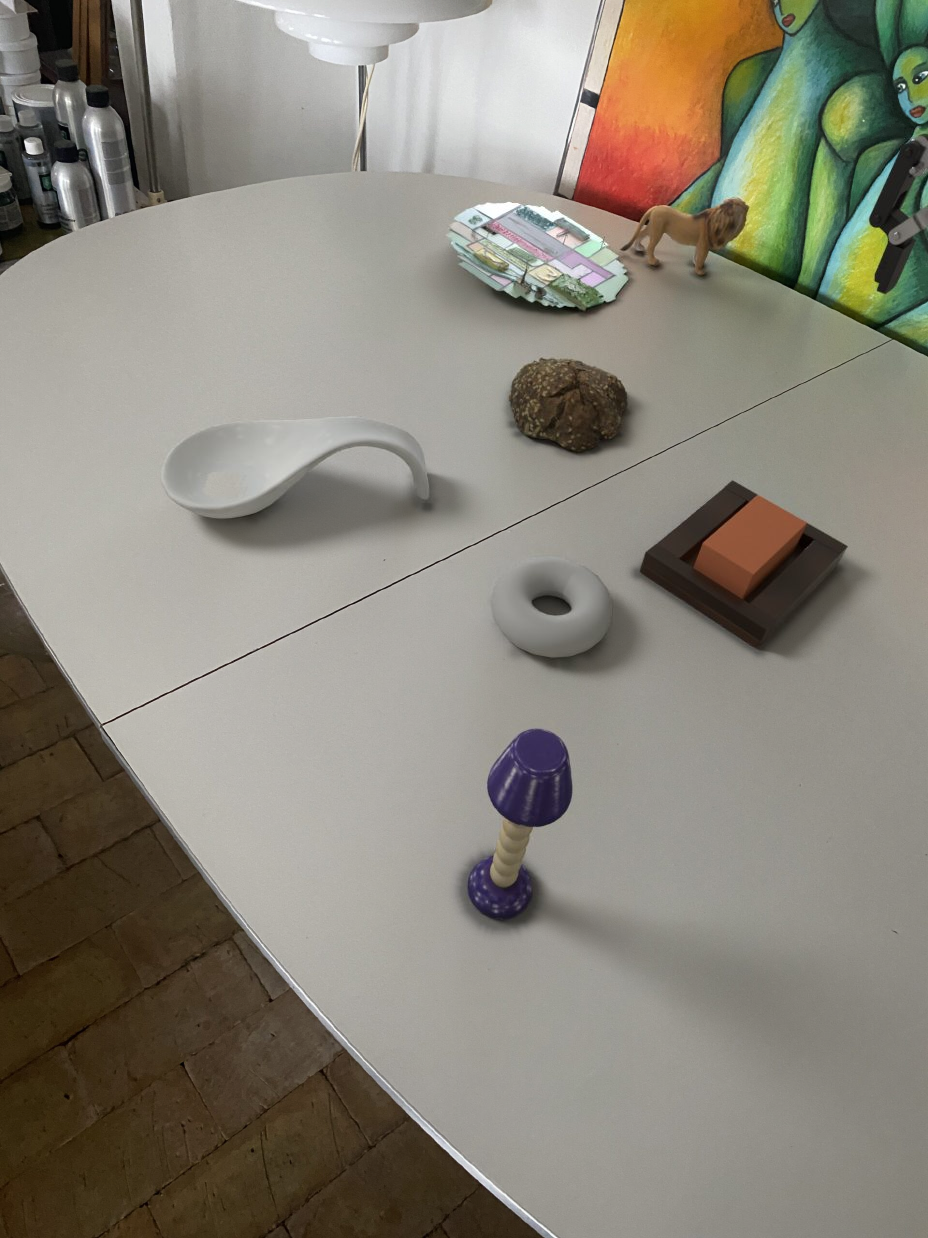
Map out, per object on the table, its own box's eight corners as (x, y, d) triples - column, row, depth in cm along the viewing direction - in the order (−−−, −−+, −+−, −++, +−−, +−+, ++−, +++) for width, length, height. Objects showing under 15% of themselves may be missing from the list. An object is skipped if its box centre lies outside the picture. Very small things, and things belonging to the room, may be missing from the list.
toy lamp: (505, 840, 59) (536, 697, 46) (555, 890, 57) (602, 754, 44) (453, 885, 57) (471, 748, 44) (503, 939, 55) (537, 810, 42)
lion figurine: (730, 261, 115) (751, 191, 108) (731, 280, 112) (753, 210, 105) (620, 245, 116) (634, 175, 110) (617, 263, 113) (632, 193, 106)
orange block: (745, 523, 80) (758, 494, 78) (793, 551, 78) (807, 522, 75) (691, 571, 76) (702, 542, 73) (741, 602, 74) (754, 574, 71)
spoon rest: (163, 544, 75) (145, 480, 70) (172, 457, 83) (156, 393, 77) (435, 527, 79) (438, 465, 73) (420, 445, 86) (421, 383, 81)
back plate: (724, 499, 84) (732, 479, 82) (837, 565, 79) (848, 545, 77) (639, 571, 77) (645, 551, 75) (756, 649, 72) (766, 629, 70)
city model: (603, 352, 103) (619, 305, 98) (416, 290, 104) (423, 241, 99) (634, 259, 119) (650, 215, 114) (472, 206, 120) (481, 161, 115)
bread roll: (517, 370, 96) (522, 329, 92) (629, 389, 95) (639, 348, 91) (496, 440, 87) (501, 398, 84) (619, 462, 86) (629, 420, 83)
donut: (472, 644, 70) (592, 681, 68) (474, 616, 68) (598, 654, 66) (511, 563, 77) (621, 595, 75) (514, 534, 74) (629, 566, 72)
